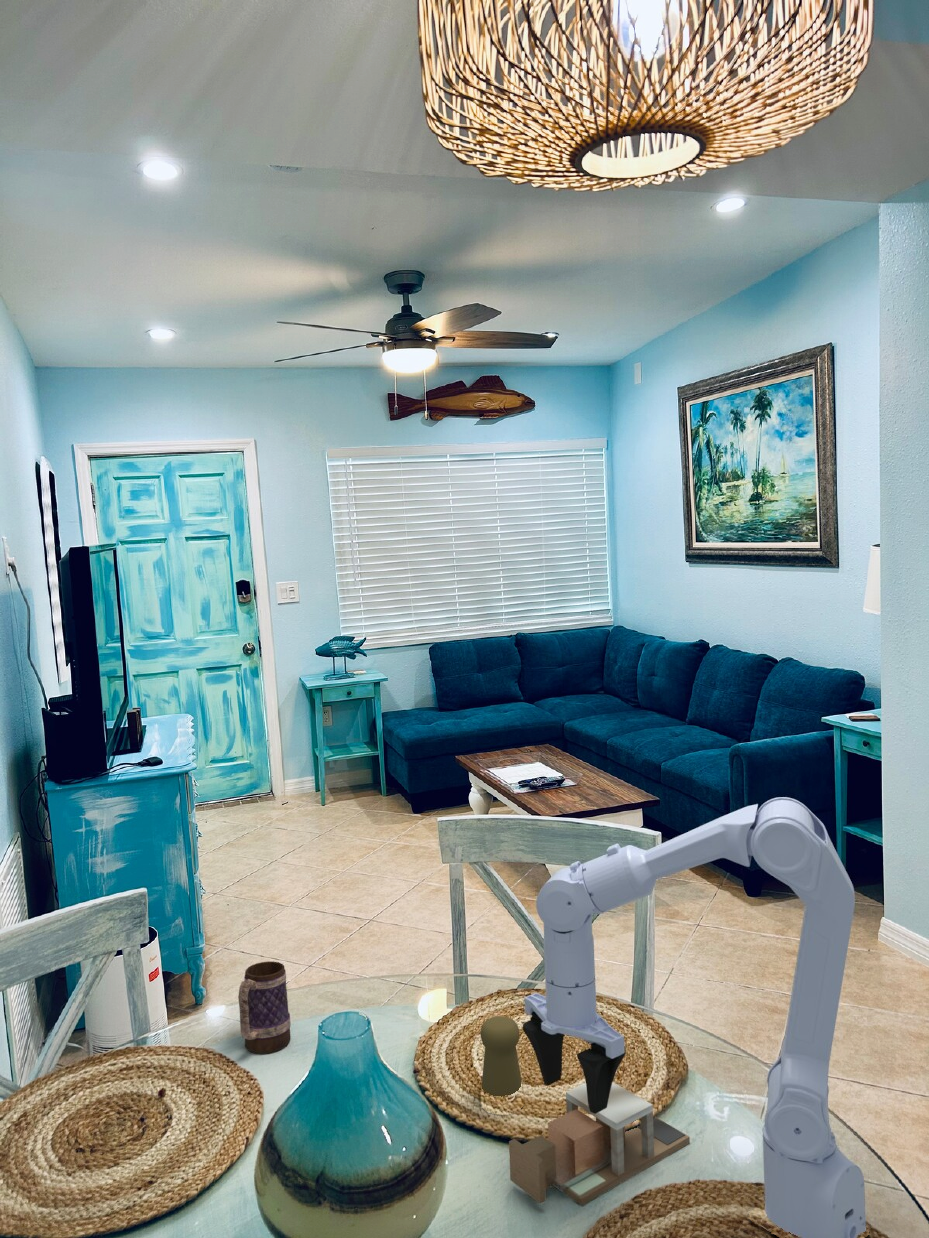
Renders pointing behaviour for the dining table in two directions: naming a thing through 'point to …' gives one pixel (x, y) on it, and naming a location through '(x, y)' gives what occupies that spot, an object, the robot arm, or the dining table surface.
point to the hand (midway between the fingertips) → (574, 1095)
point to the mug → (264, 1008)
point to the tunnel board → (640, 1142)
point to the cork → (500, 1056)
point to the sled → (561, 1154)
